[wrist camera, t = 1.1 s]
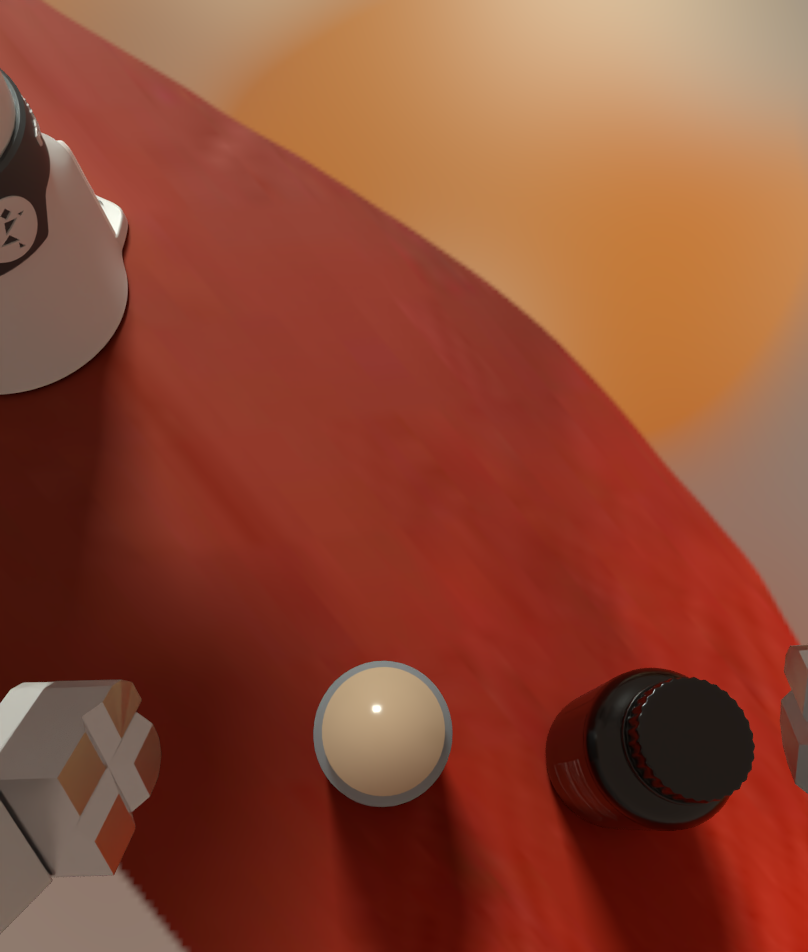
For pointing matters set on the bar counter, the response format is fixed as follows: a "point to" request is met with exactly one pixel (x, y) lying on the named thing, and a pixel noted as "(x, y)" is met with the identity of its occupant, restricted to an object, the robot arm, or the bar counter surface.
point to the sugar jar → (382, 733)
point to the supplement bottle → (649, 751)
